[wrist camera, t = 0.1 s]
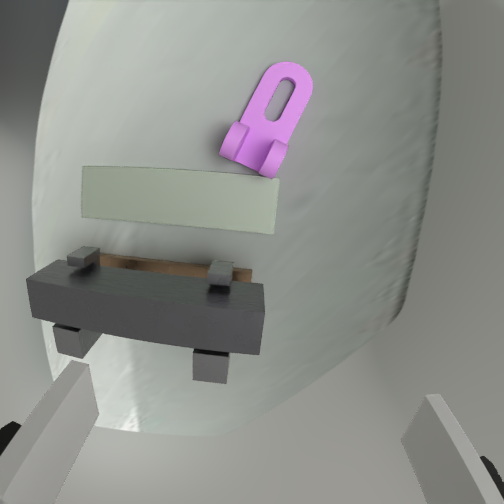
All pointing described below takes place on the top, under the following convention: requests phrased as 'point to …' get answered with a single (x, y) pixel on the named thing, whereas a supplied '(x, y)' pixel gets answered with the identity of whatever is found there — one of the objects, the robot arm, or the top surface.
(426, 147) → the top surface
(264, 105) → the bracket
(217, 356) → the hook rack
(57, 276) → the rail
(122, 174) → the mat
